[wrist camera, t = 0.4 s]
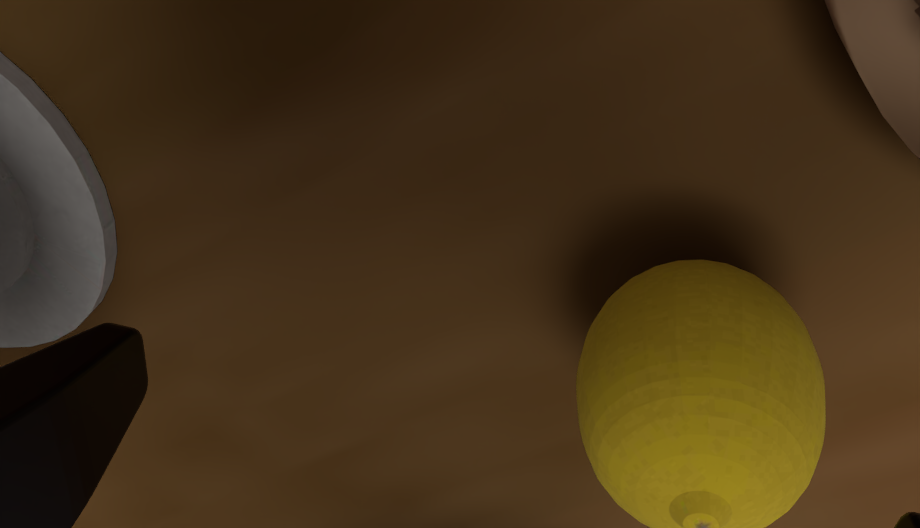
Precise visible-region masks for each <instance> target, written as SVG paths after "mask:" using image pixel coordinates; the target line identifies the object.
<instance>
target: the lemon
mask: <svg viewBox="0 0 920 528" xmlns="http://www.w3.org/2000/svg"><path fill="white" fill-rule="evenodd" d="M576 392H577V408H578V420H579V428H580V432H581V437H582V441H583V444H584V447H585V450H586V453H587V455H588V458H589V460H590V462H591V465H592V467H593V470H594V472H595V474H596V476H597V478H598V480H599V481H600V483H601V484H602V485H603V487H604V488H605V489H606V491H607V492H608V493H609V494H610V496H611V497H612V498H613V499H614V501H615V502H616V503H617V504H618V505H619V506H620V507H621V508H623V509H624V510H625V511H626V512H628V513H629V514H630V515H632V516H633V517H634V518H635V519H637V520H638V521H639V522H641V523H643V524H645V525H647V526H649V527H651V528H765V527H767V526H768V525H770V524H771V523H772V522H774V521H775V520H777V519H778V518H779V517H781V516H782V515H783V514H785V513H786V512H788V511H789V510H790V508H791V507H792V506H793V505H794V503H795V502H796V501H797V500H798V498H799V497H800V496H801V495H802V493H803V492H804V491H805V489H806V488H807V487H808V485H809V483H810V480H811V478H812V476H813V473H814V470H815V468H816V465H817V462H818V459H819V456H820V453H821V449H822V445H823V440H824V434H825V423H826V412H825V383H824V377H823V371H822V367H821V364H820V360H819V358H818V355H817V353H816V350H815V348H814V345H813V343H812V340H811V338H810V336H809V333H808V331H807V328H806V327H805V325H804V323H803V321H802V320H801V318H800V317H799V316H798V315H797V313H796V312H795V311H794V310H793V308H792V307H791V306H790V305H789V304H788V302H787V301H786V300H785V299H784V298H783V296H782V295H781V294H780V293H779V292H778V291H777V290H775V289H774V288H773V287H771V286H770V285H768V284H767V283H766V282H764V281H763V280H761V279H760V278H758V277H757V276H755V275H754V274H752V273H749V272H747V271H744V270H742V269H739V268H737V267H734V266H732V265H729V264H727V263H721V262H715V261H709V260H703V259H700V260H678V261H674V262H670V263H666V264H662V265H658V266H655V267H653V268H651V269H649V270H647V271H645V272H643V273H641V274H639V275H637V276H635V277H633V278H631V279H630V280H628V281H627V282H626V283H625V284H624V285H623V286H622V287H620V288H619V289H618V290H617V291H616V292H615V293H613V294H612V295H611V296H610V297H609V298H608V300H607V301H606V303H605V304H604V306H603V307H602V309H601V310H600V312H599V313H598V315H597V316H596V318H595V320H594V321H593V323H592V324H591V326H590V329H589V331H588V333H587V336H586V339H585V343H584V346H583V350H582V353H581V357H580V360H579V364H578V370H577V379H576Z"/></svg>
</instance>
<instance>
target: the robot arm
mask: <svg viewBox="0 0 920 528" xmlns="http://www.w3.org/2000/svg"><path fill="white" fill-rule="evenodd" d="M147 386H148V375H147V368H146V360H145V352H144V345H143V339H142V335H141V334H140V332H139V331H138V330H136V329H135V328H131V327H127V326H122V325H118V324H114V323H104V324H101V325H98V326H96V327H93V328H91V329H89V330H86V331H84V332H82V333H79V334H77V335H75V336H72V337H70V338H68V339H65V340H63V341H61V342H58V343H56V344H54V345H51V346H49V347H47V348H44V349H42V350H40V351H37V352H35V353H33V354H30V355H28V356H26V357H23V358H21V359H19V360H16V361H14V362H12V363H9V364H7V365H5V366H2V367H0V528H71V527H72V526H73V524H74V523H75V521H76V520H77V518H78V517H79V515H80V514H81V512H82V511H83V509H84V507H85V506H86V504H87V503H88V501H89V499H90V497H91V496H92V494H93V492H94V490H95V489H96V487H97V485H98V483H99V481H100V480H101V478H102V476H103V474H104V472H105V470H106V468H107V466H108V465H109V463H110V461H111V459H112V457H113V455H114V453H115V451H116V450H117V448H118V446H119V444H120V442H121V440H122V438H123V436H124V435H125V433H126V431H127V429H128V427H129V425H130V423H131V422H132V420H133V418H134V416H135V414H136V412H137V410H138V408H139V407H140V405H141V403H142V401H143V399H144V397H145V394H146V390H147ZM894 528H920V513H916V512H908V513H906V514H904V515H903V516H902V517H901V518H900V519H899V521H898V522H897V524H896V526H895V527H894Z"/></svg>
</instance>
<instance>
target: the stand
mask: <svg viewBox="0 0 920 528" xmlns="http://www.w3.org/2000/svg"><path fill="white" fill-rule="evenodd" d="M824 1H825V4H826V6H827V9H828V12H829V14H830V17H831V20H832V22H833V25H834V27H835V29H836V31H837V33H838V35H839V37H840V39H841V41H842V43H843V44H844V46H845V48H846V50H847V52H848V54H849V56H850V58H851V60H852V62H853V64H854V66H855V68H856V69H857V71H858V73H859V75H860V77H861V79H862V81H863V82H864V84H865V86H866V88H867V89H868V91H869V93H870V95H871V96H872V98H873V100H874V102H875V103H876V105H877V107H878V109H879V110H880V112H881V114H882V116H883V117H884V118H885V120H886V121H887V122H888V123H889V124H890V126H891V127H892V128H893V129H894V131H895V132H896V133H897V134H898V136H899V137H900V138H901V139H902V140H903V142H904V143H905V144H906V145H907V147H908V148H909V149H910V150H911V152H913V153H914V154H915V155H916V156H917V157H918V158H919V159H920V0H824Z"/></svg>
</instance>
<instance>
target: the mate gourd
mask: <svg viewBox="0 0 920 528" xmlns="http://www.w3.org/2000/svg"><path fill="white" fill-rule="evenodd" d="M116 256H117V242H116V230H115V220H114V216H113V213H112V209H111V206H110V202H109V199H108V196H107V192H106V189H105V186H104V184H103V181H102V179H101V177H100V175H99V173H98V171H97V169H96V167H95V165H94V163H93V161H92V159H91V157H90V154H89V152H88V150H87V149H86V147H85V146H84V144H83V143H82V141H81V140H80V138H79V137H78V136H77V134H76V133H75V131H74V130H73V128H72V127H71V125H70V124H69V122H68V121H67V119H66V118H65V116H64V115H63V114H62V112H61V111H60V110H59V109H58V108H57V107H56V106H55V105H54V103H53V102H52V101H51V100H50V99H49V98H48V97H47V96H46V94H45V93H44V92H43V91H42V90H41V89H40V88H39V87H38V86H37V84H36V83H35V82H34V81H33V80H32V79H31V78H30V77H29V76H27V75H26V74H25V73H24V72H23V71H22V70H21V69H19V68H18V67H17V66H16V65H15V64H14V63H12V62H11V61H10V60H9V59H8V58H7V57H5V56H4V55H3V54H2V53H1V52H0V347H3V348H7V347H32V346H35V345H39V344H43V343H47V342H51V341H55V340H57V339H59V338H60V337H62V336H64V335H66V334H67V333H69V332H71V331H73V330H74V329H76V328H77V327H78V326H79V325H80V324H81V323H82V322H83V321H84V320H85V319H86V318H87V317H88V315H89V314H90V313H91V312H92V311H93V310H94V309H95V308H96V307H97V306H98V305H99V304H100V303H101V302H102V300H103V298H104V296H105V294H106V292H107V290H108V288H109V286H110V284H111V281H112V279H113V275H114V269H115V262H116Z"/></svg>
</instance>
